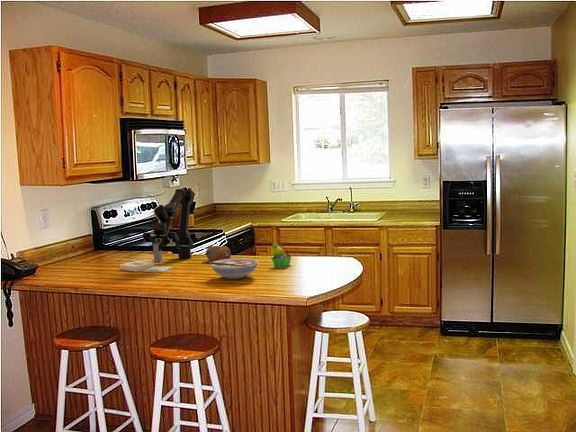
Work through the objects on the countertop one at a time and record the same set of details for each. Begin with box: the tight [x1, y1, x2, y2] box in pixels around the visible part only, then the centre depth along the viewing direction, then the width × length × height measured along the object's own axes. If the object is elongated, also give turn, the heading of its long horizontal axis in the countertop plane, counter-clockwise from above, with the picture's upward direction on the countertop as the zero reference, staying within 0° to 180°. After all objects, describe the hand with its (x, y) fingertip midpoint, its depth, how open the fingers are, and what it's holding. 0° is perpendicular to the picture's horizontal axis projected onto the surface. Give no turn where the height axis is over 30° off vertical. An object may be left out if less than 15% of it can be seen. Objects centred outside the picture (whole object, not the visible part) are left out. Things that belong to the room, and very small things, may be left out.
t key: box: [151, 242, 165, 264], centre depth 324 cm, size 3×6×10 cm, turn 75°
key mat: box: [143, 265, 174, 273], centre depth 325 cm, size 11×11×1 cm
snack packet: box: [205, 245, 232, 262], centre depth 344 cm, size 15×3×8 cm, turn 62°
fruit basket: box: [271, 244, 292, 269], centre depth 322 cm, size 11×9×11 cm
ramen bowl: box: [202, 257, 259, 280], centre depth 298 cm, size 25×23×8 cm
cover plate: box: [119, 260, 155, 272], centre depth 332 cm, size 12×13×2 cm
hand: (156, 250), depth 323 cm, fingers closed on t key, 3 cm apart
